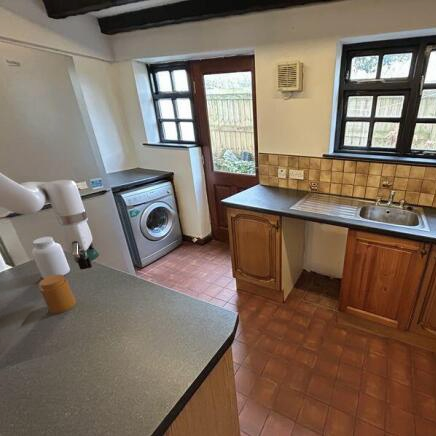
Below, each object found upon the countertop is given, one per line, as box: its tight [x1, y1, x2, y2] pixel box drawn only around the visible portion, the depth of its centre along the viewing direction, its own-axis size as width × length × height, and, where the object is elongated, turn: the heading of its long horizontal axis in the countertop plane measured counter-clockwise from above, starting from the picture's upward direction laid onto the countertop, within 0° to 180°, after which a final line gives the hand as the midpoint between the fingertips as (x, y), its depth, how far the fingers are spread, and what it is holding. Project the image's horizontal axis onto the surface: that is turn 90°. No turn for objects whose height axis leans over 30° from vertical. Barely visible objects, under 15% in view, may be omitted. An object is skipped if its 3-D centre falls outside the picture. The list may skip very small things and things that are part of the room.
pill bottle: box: [31, 236, 71, 279], centre depth 91 cm, size 8×8×15 cm
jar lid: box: [73, 248, 100, 264], centre depth 87 cm, size 7×7×2 cm
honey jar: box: [38, 274, 77, 315], centre depth 76 cm, size 6×6×11 cm
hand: (88, 262), depth 88 cm, fingers closed on jar lid, 6 cm apart
